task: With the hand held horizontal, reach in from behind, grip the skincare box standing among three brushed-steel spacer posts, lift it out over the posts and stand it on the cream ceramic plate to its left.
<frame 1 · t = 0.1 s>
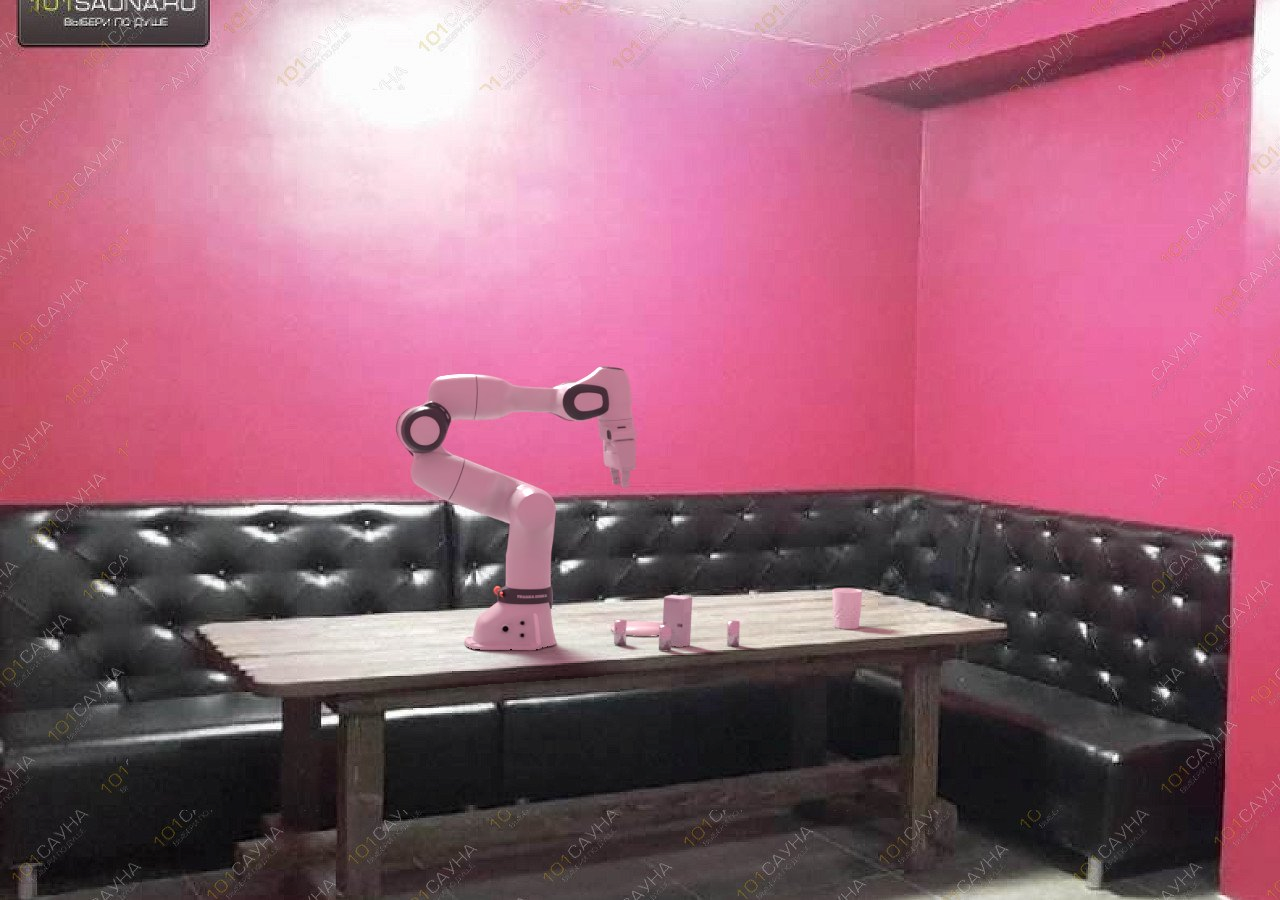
hand: (621, 486, 342), 39 cm above the table, tool pointing down, fingers open, 8 cm apart
spacer posts: (676, 645, 339), on the table
skincare box: (676, 646, 339), on the table
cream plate: (641, 631, 357), on the table
pink cylindrical piece: (846, 628, 368), on the table
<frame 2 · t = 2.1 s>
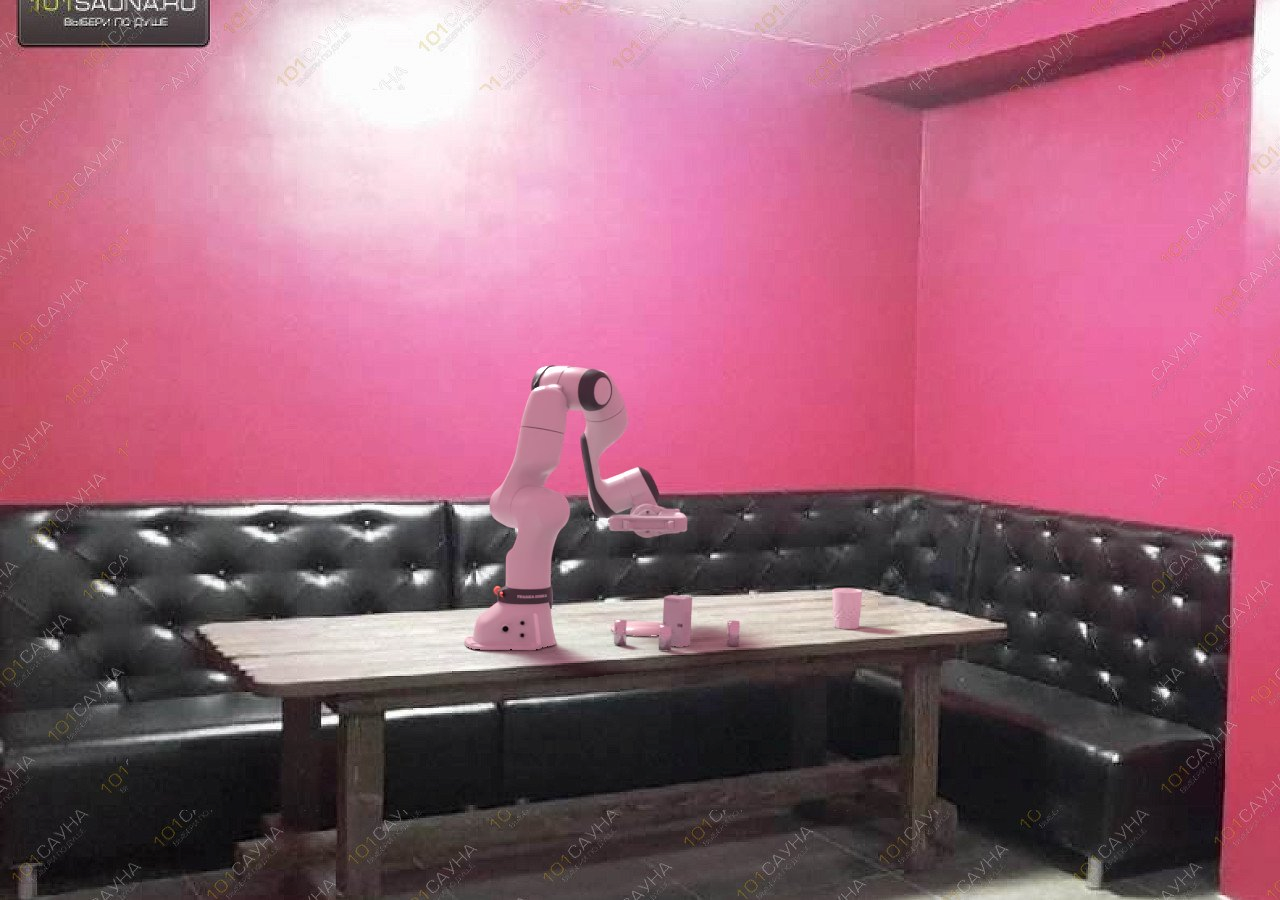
hand: (649, 526, 349), 28 cm above the table, tool horizontal, fingers open, 8 cm apart
nothing on the table moved.
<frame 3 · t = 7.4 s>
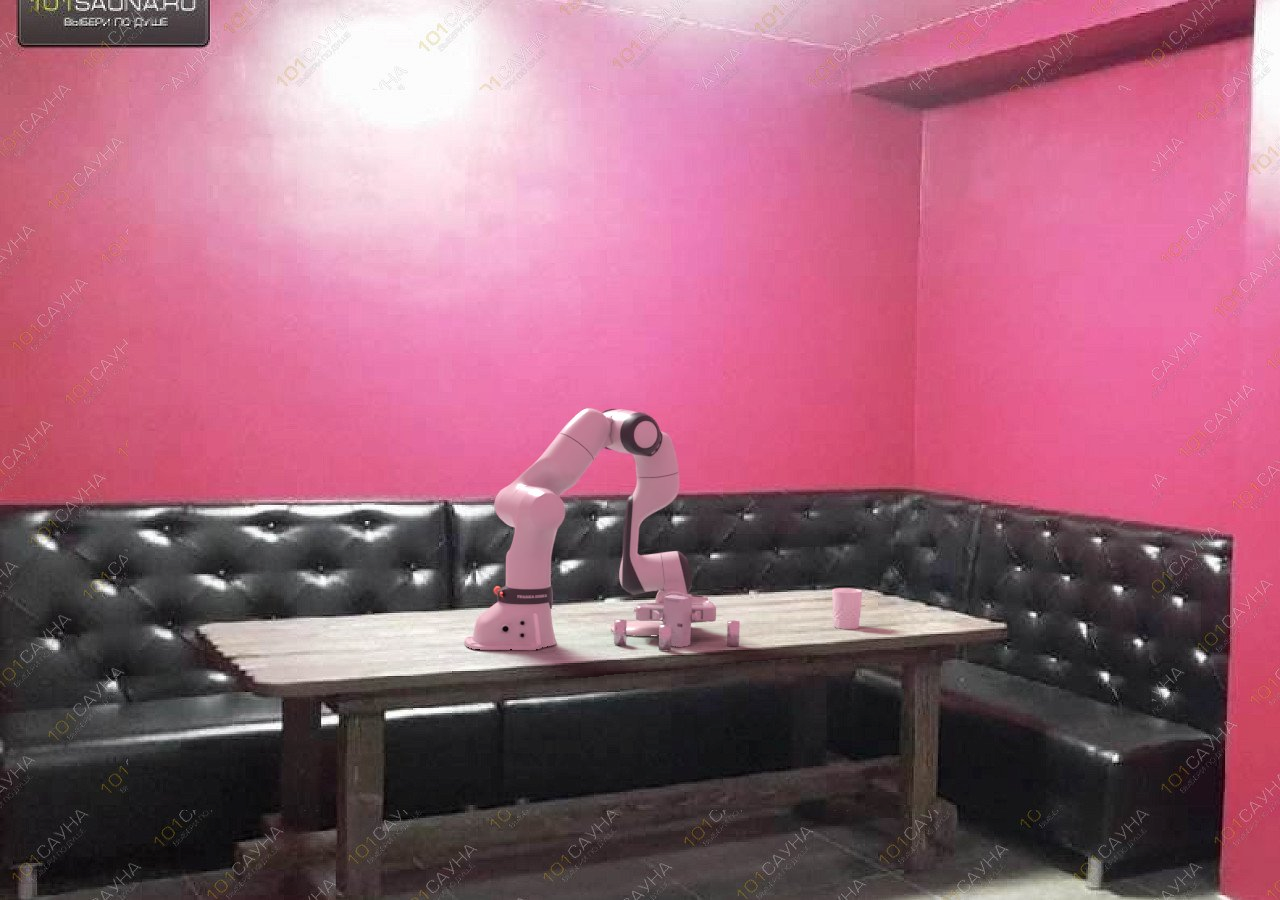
hand: (677, 617, 338), 7 cm above the table, tool horizontal, fingers closed on skincare box, 7 cm apart
skincare box: (676, 646, 339), on the table, touching gripper
everything else where it was.
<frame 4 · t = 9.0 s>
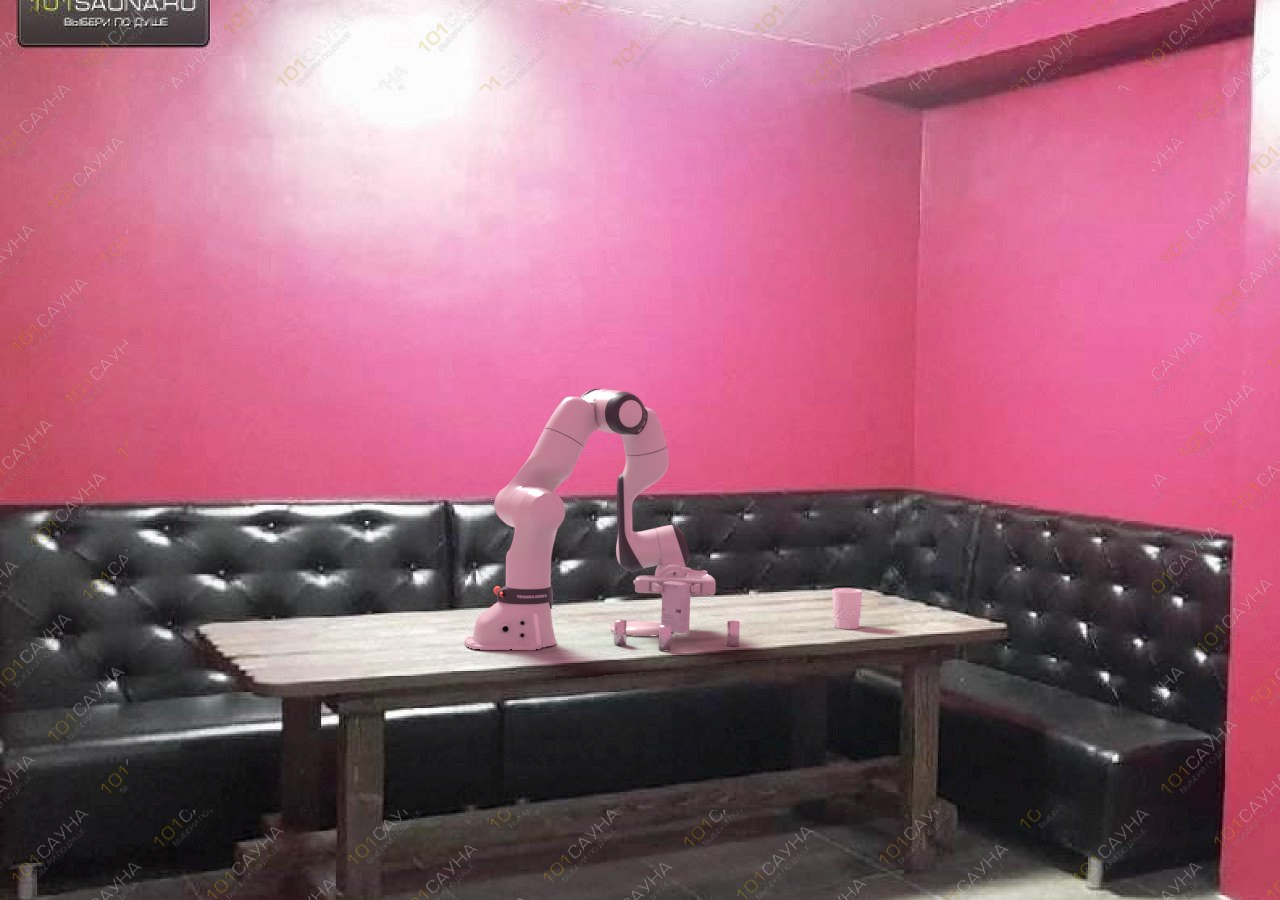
hand: (676, 589, 337), 14 cm above the table, tool horizontal, fingers open, 7 cm apart
skincare box: (675, 631, 339), point 3 cm above the table, touching gripper
everything else where it was.
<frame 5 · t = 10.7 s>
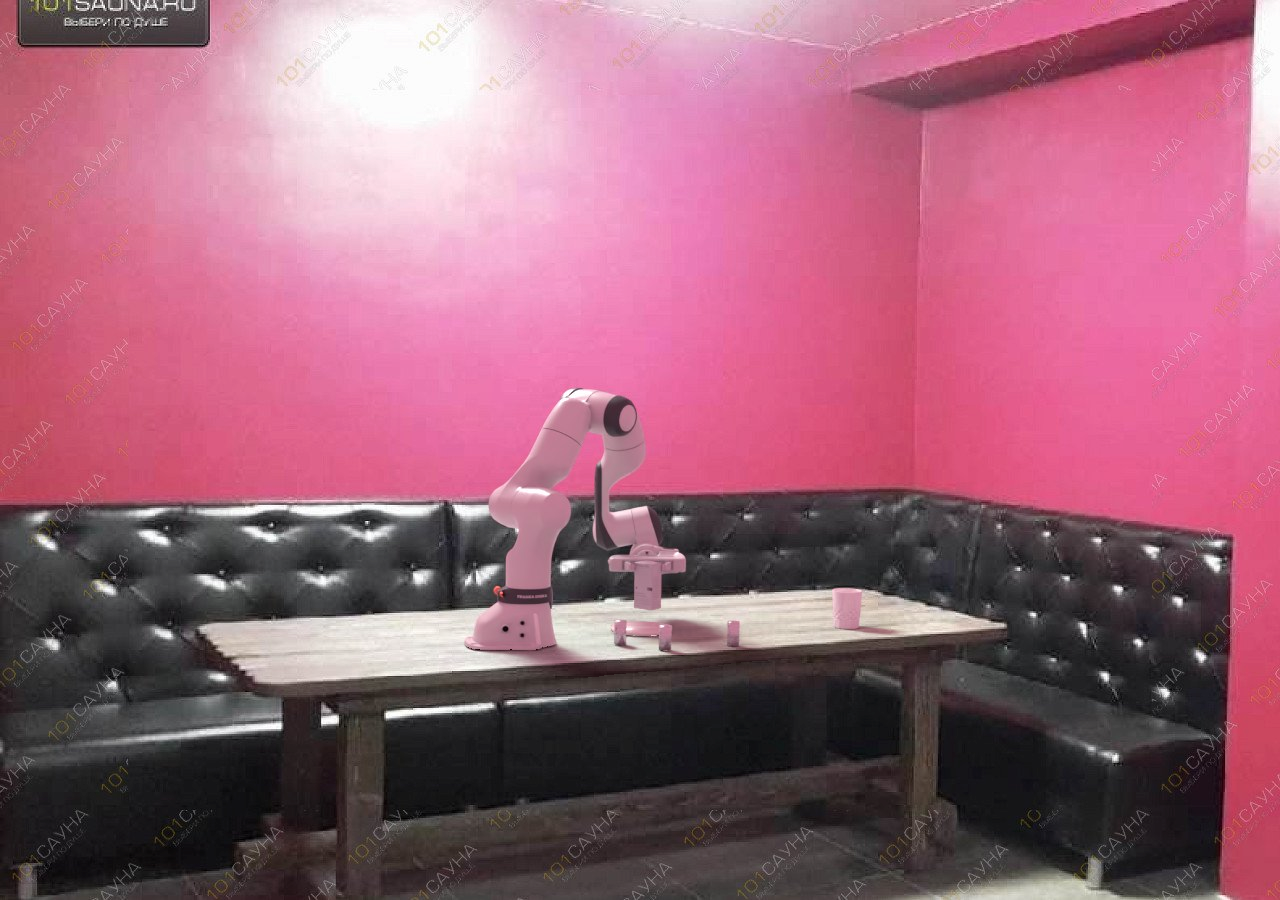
hand: (648, 567, 353), 17 cm above the table, tool horizontal, fingers closed on skincare box, 7 cm apart
skincare box: (648, 609, 355), point 6 cm above the table, touching gripper
everything else where it was.
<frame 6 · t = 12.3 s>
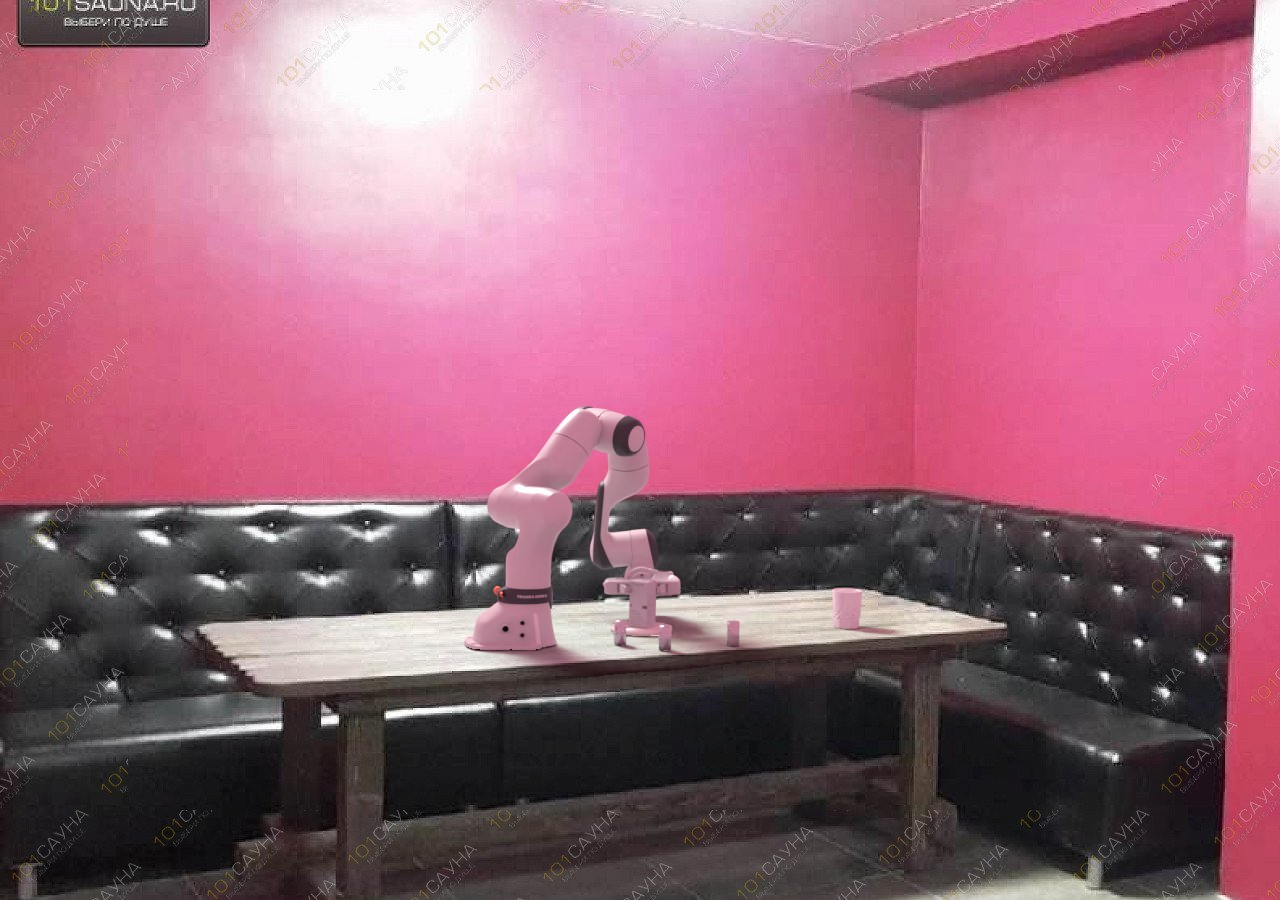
hand: (643, 590, 356), 11 cm above the table, tool horizontal, fingers closed on skincare box, 7 cm apart
skincare box: (642, 627, 358), point 1 cm above the table, touching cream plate, gripper
everything else where it was.
when the fingers open (10 cm above the table, at t = 13.0 s): skincare box stays where it is, resting on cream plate.
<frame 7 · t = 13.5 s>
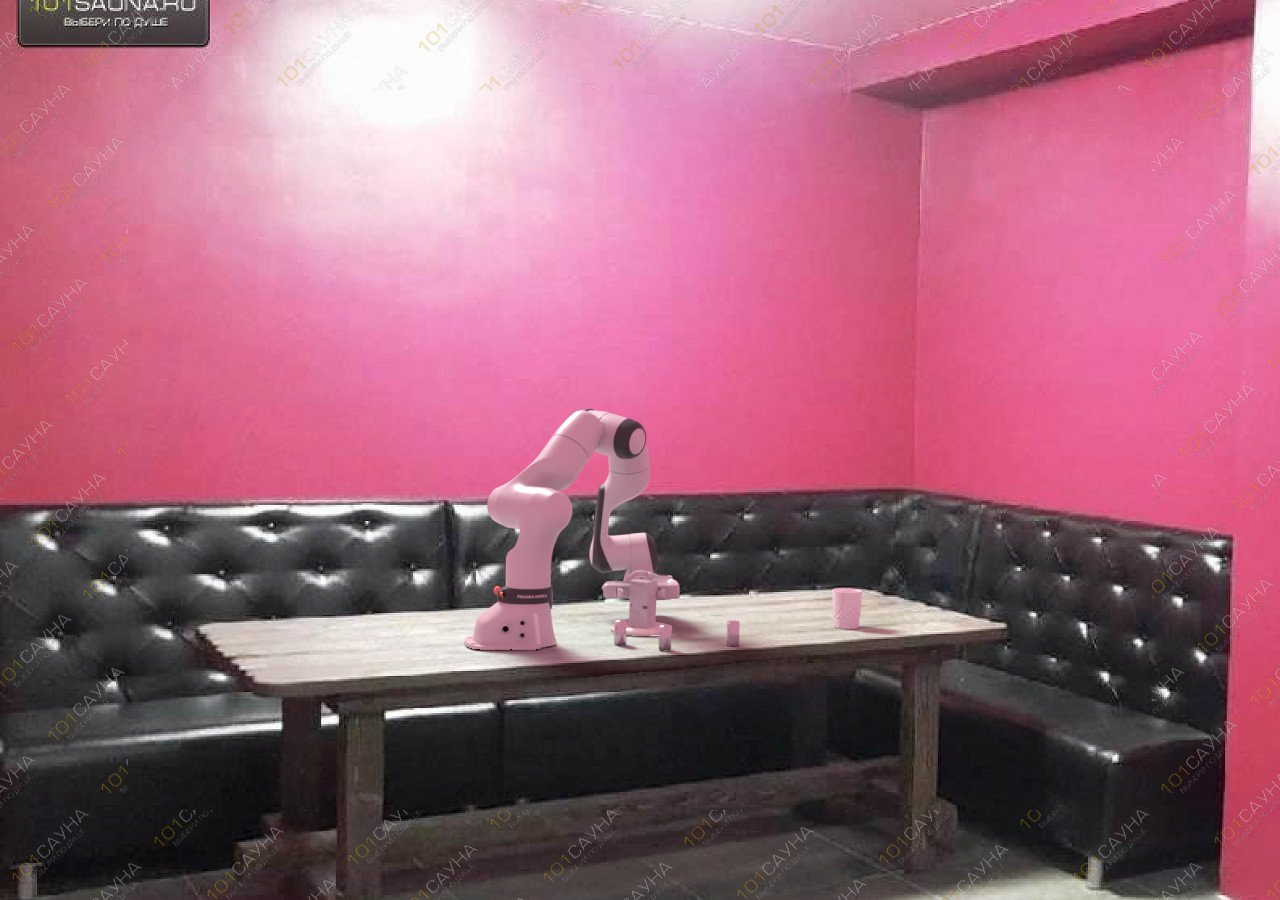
hand: (642, 594, 356), 10 cm above the table, tool horizontal, fingers open, 8 cm apart
skincare box: (642, 627, 358), point 1 cm above the table, touching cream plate
everything else where it was.
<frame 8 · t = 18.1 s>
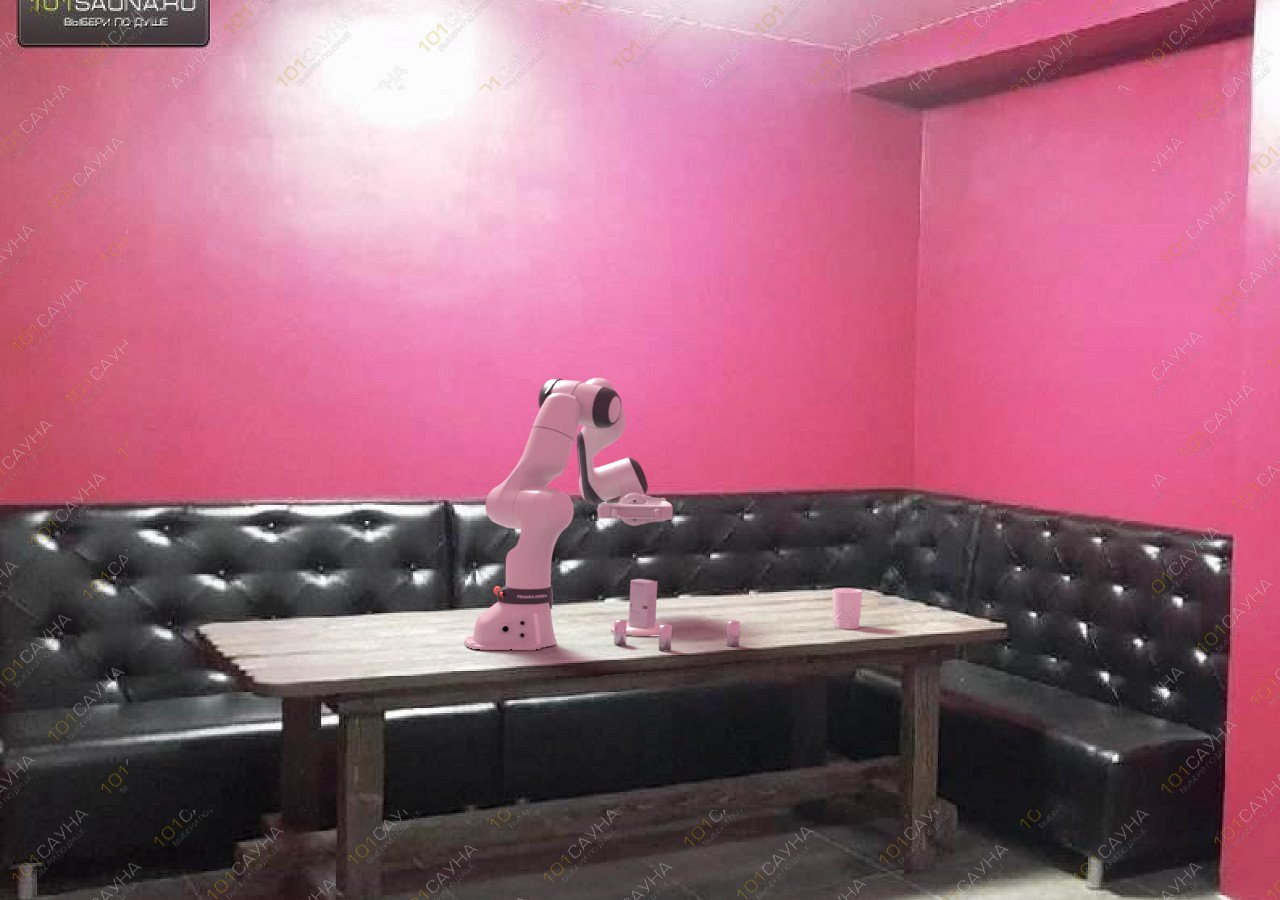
hand: (635, 514, 363), 30 cm above the table, tool horizontal, fingers open, 8 cm apart
nothing on the table moved.
at the end: skincare box inside the target area on the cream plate (0.4 cm from its centre), point 1.0 cm above the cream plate's base; skincare box tilted 0°; the gripper is holding nothing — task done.
